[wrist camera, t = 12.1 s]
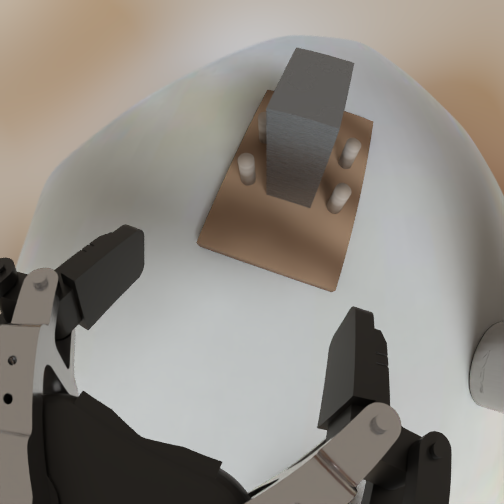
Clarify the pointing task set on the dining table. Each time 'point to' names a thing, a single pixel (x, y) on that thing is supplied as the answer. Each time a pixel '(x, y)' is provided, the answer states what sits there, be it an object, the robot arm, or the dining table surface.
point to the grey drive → (304, 124)
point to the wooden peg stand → (289, 208)
